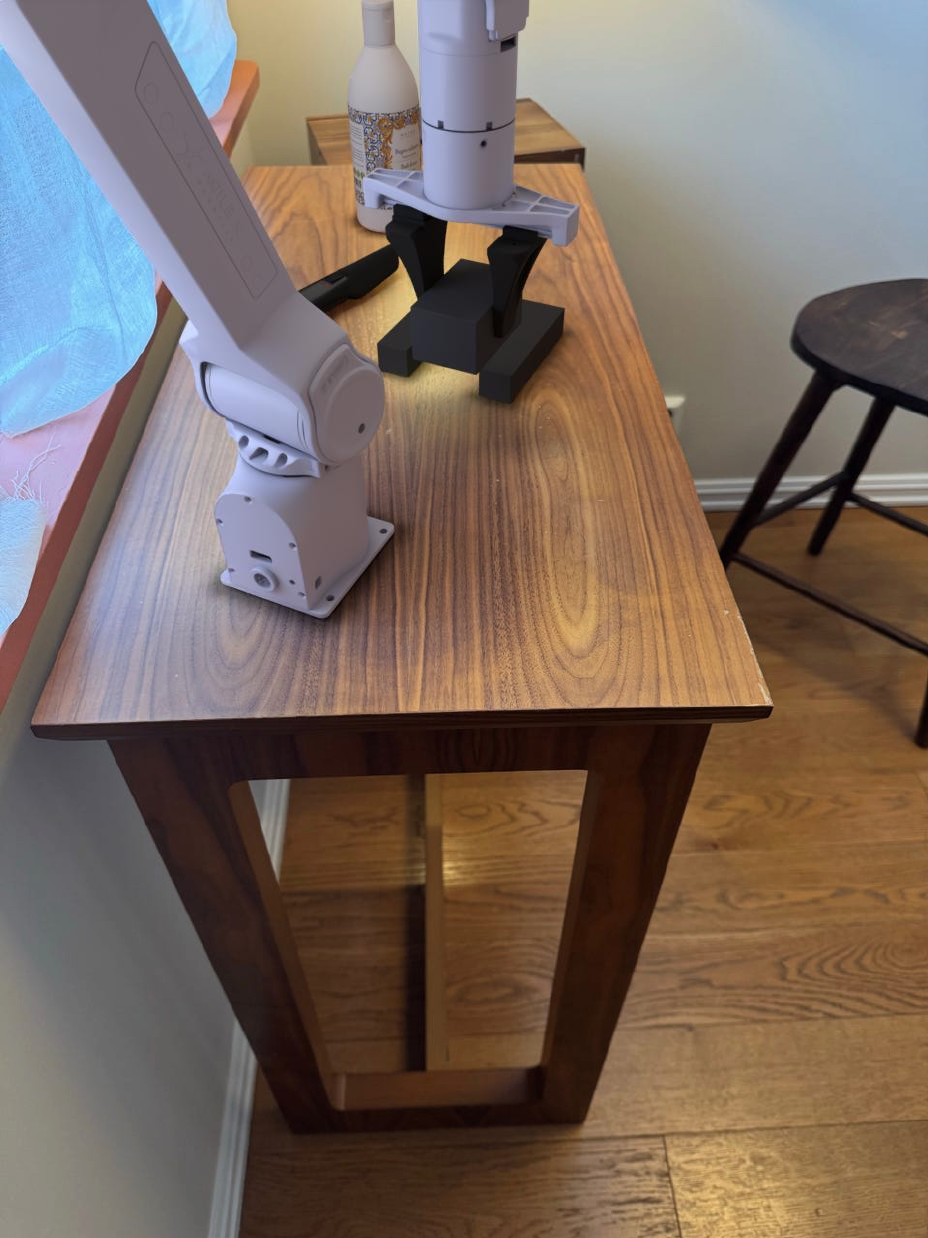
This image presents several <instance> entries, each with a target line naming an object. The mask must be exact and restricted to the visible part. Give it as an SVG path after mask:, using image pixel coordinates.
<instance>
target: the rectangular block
mask: <svg viewBox="0 0 928 1238" xmlns="http://www.w3.org/2000/svg"><path fill="white" fill-rule="evenodd" d="M523 292H524V291H523ZM523 292H522V295H521V298H520V301H519V304H518V308H517V312H516V316H515V321H514V326H513V328H512V329H511V330H510V331H509V332H508V334H507V335H506V336H505V337H504V338H503V339H500V338H496V337H494V329H493V285H492V277H491V270H490V265H489V263H485V262H481V261H475V260H471V259H467V258H459V260H457V261H456V262H455V263H454V265H452V266H451V267H450V268H449V269H448V270H447V271H446V272H444V275H443V276H442V277H441V278H440V279H439V280H438V281H437V282H436V283H435V284H434V285H433V286H432V287H431V288H430V289H428V290H427V291H426V292H425V293H424V294H423V295H422V296H421V297H420V298H419V299H418V300H417V299H416V301H414V303H412V304H411V306H410V308H409V309H410V310H409V311H411V331H412V351H413V359H414V360H418V361H422V363H426V364H430V365H434V366H437V367H441V368H442V367H443V368H446V369H450V370H453V371H458V372H462V373H467V374H470V375H474V376H477V375H479V372H480V370H481V369H482V368H483V367H484V366H485V365H486V363H487V362H488V361H489V360H490V359H491V358H492V356H493V355H494V354H495V353H496V352H497V351H498V349H499V348H500V347H501V346H502V345H503V344H504V342H505V341H506V340H507V339H508V338H509V336H510V335H511V334H512V333H513V332H514V331H515V329H516V328H517V327H518V326H519V325H520V324H521V319H522V299H523V294H524V293H523Z"/></svg>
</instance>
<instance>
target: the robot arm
mask: <svg viewBox="0 0 928 1238" xmlns="http://www.w3.org/2000/svg"><path fill="white" fill-rule="evenodd" d="M416 3H417V5H416V9H417V26H418V27H417V31H418V33H417V35H418V59H419V60H418V61H419V86H420V87H419V89H420V122H421V148H422V149H421V151H422V171H406V170H391V169H384V168H376V169H374V170H373V171H372V172H370V173H369V174H368V175H366V176H365V177H363V187H364V199H365V207H368V208H373V209H380V208H381V207H382V206H387V207H392V208H393V215H392V221H391V222H389V223H388V224H387V225H386V226H385V237H386V240H387V242H388V243H389V244H391V245H392V247H393V248H394V250H395V251H396V253H397V254H398V256H399V260H400V261H401V263H402V265H403V267H404V269H405V271H406V273H407V275H408V277H409V280H410V283H411V285H412V289H413V291H414V294H415V296H416V301H417V300H418V299H419V298H420V297H421V296H422V295H423V294H424V293H425V292H426V291H427V290H428V289H430V288H431V287H432V286H433V285H434V284H435V283H436V282H437V281H438V280H439V279H440V278H441V277H442V276H443V275H444V274H445V250H446V241H447V240H446V239H447V231H448V223H449V222H450V223H458V224H460V223H461V224H472V225H478V226H482V227H487V228H492V229H499V230H501V231H502V232H501V235H499V236H498V237H497V238H495V240H494V241H493V242H491V243H490V244H489V245H488V247H487V248H486V256H487V261H488V264H489V265H490V270H491V277H492V285H493V329H494V337H496V338H500V339H503V338H504V337H505V336H506V335H507V334H508V332H509V331H510V330H511V329H512V328H513V326H514V321H515V316H516V312H517V308H518V304H519V301H520V298H521V295H522V292H524V288H525V286H526V283H527V281H528V278H529V277H530V274H531V271H532V270H533V267H534V265H535V263H536V261H537V259H538V257H539V255H540V253H541V252H542V250H543V248H544V246H545V245H546V242H547V241H548V240H551V244H552V245H554V246H558V247H563V248H567V247H568V246H570V244H571V243H572V242H573V241H574V240H575V238H576V237H578V234H579V233H578V232H579V222H580V220H579V219H580V210H581V208H580V207H581V205H580V204H577V203H573V202H567V201H564V200H561V199H557V198H556V197H555V198H554V197H553V196H549V195H547V194H544V193H542V192H539V191H537V190H534V189H531V188H528V187H526V186H523V185H521V184H519V183H516V182H514V168H515V145H516V144H515V142H516V140H515V139H516V114H517V89H518V88H517V87H518V86H517V83H518V59H519V57H518V56H519V32H521V31H524V30H525V28H526V25H527V19H528V18H529V16H530V0H416ZM0 45H1V47H2V48H3V50H4V51H5V53H6V55H8V57H9V58H10V60H11V61H12V63H13V64H14V65H15V67H16V69H17V70H18V72H19V73H20V75H21V76H22V77H23V79H24V80H25V81H26V83H27V84H28V86H29V87H30V89H31V90H32V92H33V93H34V95H35V96H36V98H37V99H38V101H39V102H40V103H41V105H42V106H43V108H44V109H45V111H46V112H47V114H48V115H49V117H50V119H52V121H53V122H54V124H55V126H56V127H57V129H58V130H59V132H60V133H61V135H63V137H64V138H65V141H67V143H68V144H69V146H70V147H71V149H72V150H73V152H74V153H75V155H76V156H77V158H78V159H79V160H80V162H81V163H82V165H83V166H84V168H85V169H86V170H87V172H88V174H89V175H90V176H91V178H92V179H93V181H94V182H95V184H96V185H97V187H98V188H99V190H100V191H101V193H102V194H103V195H104V197H105V199H106V200H107V201H108V203H109V204H110V206H111V207H112V208H113V210H114V211H115V213H116V215H117V216H118V218H119V219H120V220H121V222H122V223H123V225H124V226H125V227H126V230H128V232H129V234H130V235H131V236H132V238H133V239H134V241H135V243H136V244H137V245H138V246H139V248H140V249H141V251H142V252H143V254H144V255H145V257H146V258H147V259H148V261H149V263H150V264H151V265H152V267H153V269H154V270H155V271H156V273H157V274H158V276H159V278H160V279H161V281H162V282H163V283H164V284H165V286H166V288H167V289H168V291H170V294H171V295H172V297H173V298H174V299H175V301H176V302H177V303H178V305H179V306H180V308H181V310H182V311H183V313H184V314H185V315H186V317H187V318H188V320H187V322H186V324H185V326H184V328H183V331H182V332H181V333H182V334H181V336H180V337H179V340H178V343H179V346H180V348H181V349H182V350H183V352H184V354H185V355H186V356H187V358H188V360H189V361H190V364H191V366H192V370H193V375H194V382H195V388H196V391H197V395H198V397H199V399H200V401H201V402H202V404H203V405H204V407H205V408H206V409H208V410H209V412H211V413H213V414H214V415H216V416H218V417H221V418H224V420H225V424H226V430H227V434H228V437H230V438H231V439H233V441H235V443H236V444H237V458H236V463H235V468H234V470H233V473H232V476H231V478H230V480H229V481H228V483H227V485H226V487H225V488H224V490H223V491H222V493H221V494H220V495H219V496H218V498H217V500H216V501H215V504H214V508H213V516H214V521H215V526H216V529H217V533H218V537H219V541H220V545H221V548H222V552H223V556H224V560H225V564H226V569H225V570H224V571H223V572H222V573H221V574H220V581H221V583H222V584H223V585H225V586H228V587H230V588H233V589H237V591H238V590H239V591H242V592H244V593H247V594H250V595H252V596H255V597H259V598H262V599H265V600H267V601H270V602H273V603H275V604H278V605H280V606H284V607H287V608H290V609H293V610H296V611H299V612H301V613H304V614H307V615H309V616H313V617H315V618H319V619H326V618H328V617H329V616H330V615H331V614H332V612H333V611H334V610H335V609H336V607H337V606H338V605H339V604H340V602H341V601H342V600H343V598H344V597H345V596H346V595H347V593H348V592H349V591H350V590H351V588H352V587H353V586H354V584H355V583H356V582H357V580H359V578H360V577H361V576H362V574H363V573H364V572H365V570H366V569H367V568H368V567H369V565H370V564H371V562H372V561H374V559H375V558H376V556H377V555H378V554H379V552H380V551H381V550H382V549H383V547H384V546H385V545H386V544H387V542H388V541H389V539H390V538H391V537H392V536H393V535H394V533H395V531H396V530H395V525H394V523H391V522H388V521H386V520H382V519H380V518H376V517H372V516H369V515H368V510H367V500H366V491H365V480H364V472H363V471H364V470H363V462H362V460H363V459H362V452H364V451H365V450H366V449H367V447H368V446H369V445H370V443H372V441H373V439H374V438H375V436H376V434H377V433H378V430H379V428H380V425H381V423H382V420H383V417H384V412H385V407H386V389H385V381H384V377H383V372H382V371H381V370H380V368H379V365H378V364H377V363H376V361H375V360H373V359H372V358H371V357H370V356H367V355H365V354H362V353H360V352H359V351H358V350H357V348H356V347H355V345H354V344H353V342H352V341H351V338H350V336H349V334H348V333H347V331H346V330H345V329H344V328H343V327H341V326H340V325H339V324H338V323H337V322H335V320H333V319H332V318H331V317H330V316H329V315H327V314H324V313H323V312H322V311H321V310H319V309H318V308H317V307H316V306H314V305H313V304H312V303H311V302H310V301H308V300H307V299H306V298H305V297H304V296H302V295H301V294H300V293H299V292H298V290H297V288H296V285H295V284H294V282H293V280H292V278H291V276H290V275H289V273H288V271H287V269H286V267H285V265H284V262H283V261H282V258H281V257H280V255H279V253H278V251H277V249H276V246H275V245H274V243H273V241H272V239H271V238H270V236H269V233H268V232H267V230H266V228H265V226H264V224H263V222H262V221H261V218H260V217H259V214H258V212H257V211H256V208H255V207H254V205H253V203H252V201H251V199H250V197H249V195H248V193H247V191H246V189H245V188H244V185H243V183H242V182H241V180H240V178H239V176H238V174H237V172H236V169H235V168H234V166H233V163H232V162H231V160H230V158H229V156H228V154H227V152H226V150H225V148H224V147H223V145H222V143H221V141H220V139H219V136H218V135H217V132H215V129H214V127H213V126H212V123H211V122H210V119H209V118H208V115H207V114H206V111H205V110H204V108H203V106H202V103H201V102H200V100H199V98H198V97H197V95H196V92H195V91H194V89H193V87H192V84H191V82H190V81H189V79H188V77H187V75H186V73H185V71H184V69H183V68H182V65H181V63H180V61H179V60H178V58H177V55H176V53H175V52H174V49H173V48H172V46H171V43H170V42H169V40H168V38H167V36H166V34H165V32H164V31H163V28H162V27H161V25H160V23H159V20H158V19H157V17H156V15H155V13H154V11H153V9H152V7H151V5H150V4H149V2H148V0H0Z"/></svg>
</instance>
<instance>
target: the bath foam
mask: <svg viewBox="0 0 928 1238" xmlns="http://www.w3.org/2000/svg"><path fill="white" fill-rule="evenodd" d="M360 4H361V17H362V28H363V29H362V30H363V31H362V33H363V41H364V42H363V46H362V48H361V49H360V52H359V54H358V56H357V58H356V61H355V63H354V65H353V67H352V70H351V72H350V76H349V79H348V80H349V81H348V85H347V103H346V104H347V112H348V113H347V114H348V125H349V136H350V137H349V138H350V149H351V161H352V162H351V163H352V172H353V183H354V195H355V196H354V197H355V204H356V215H357V220H358V222H359V224H360V225H361V226H362V227H364V228H365V229H367V230H369V231H372V232H377V233H385V226H386V225H387V224H388V223H389V222H391V221H392V215H393V208H392V207H387V206H382V207H381V208H380V209H373V208H368V207H365V199H364V187H363V177H365V176H366V175H368V174H369V173H370V172H372V171H373V170H374V169H376V168H384V169H391V170H406V171H423V168H422V149H421V148H422V138H421V108H420V97H419V90H418V84H417V81H416V78H415V75H414V73H413V71H412V69H411V67H410V65H409V63H408V61H407V60H406V58H405V56H404V55H403V53H402V52H401V51H402V50H400V48H399V47H398V45H397V44H396V27H395V26H396V23H395V1H394V0H361V2H360ZM385 234H386V233H385Z"/></svg>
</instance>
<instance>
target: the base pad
mask: <svg viewBox="0 0 928 1238" xmlns="http://www.w3.org/2000/svg"><path fill="white" fill-rule="evenodd" d="M565 313H566V308H565V307H561V306H556V305H553V304H549V303H542V302H540V301H539V302H538V301H533V300H529V299H525V298H522V319H521V324H520V325H519V326H518V327H517V328H516V329H515V331H514V332H513V333H512V334H511V335H510V336H509V338H508V339H507V340H506V341H505V342H504V344H503V345H502V346H501V347H500V348H499V349H498V351H497V352H496V353H495V354H494V355H493V356H492V358H491V359H490V360H489V361H488V362H487V363H486V365H485V366H484V367H483V368H482V369H481V370H480V372H479V373H478V396H479V397H483V398H487V399H491V400H494V401H499V402H503V403H506V404H511V403H512V402H513V401H514V399H515V398H516V397H517V396H518V394H519V393H520V391H521V390H522V389H523V387H524V386H525V385H526V384H527V382H528V381H529V379H530V378H531V377H532V376H533V374H534V373H535V371H536V370H537V369H538V368H539V367H540V365H541V364H542V362H543V361H544V360H545V358H546V357H547V356H548V354H549V353H550V352H551V351H552V350H553V348H554V347H555V345H556V344H557V343H558V341H559V340H560V339H561V338H562V336H563V335H564V327H565V326H564V324H565V316H566V315H565ZM376 351H377V363H378V364H377V365H378V367H379V368H380V371H381V372H385V373H389V374H394V375H397V376H401V377H405V378H409V377H410V376H411V375H412V374H413V373H414V372H415V370H416V369H418V368H419V366H420V365H422V363H423V362H422V361H418V360H414V359H413V351H412V331H411V311H410V310H409V311H408V312H407V314H405V315H404V316H403V317H402V318H401V319H400V320H399V321H397V323H396V324H394V326H392V328H391V329H390V330H389V331H388V332H387V333H386V334H385V335H384V336H383V337H381V339H380V340H378V341H377V343H376Z"/></svg>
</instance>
